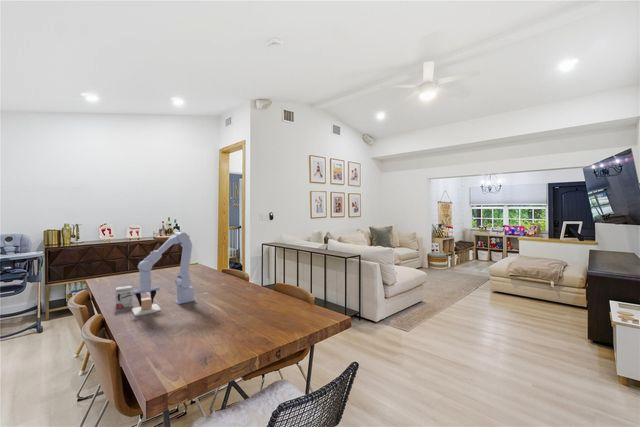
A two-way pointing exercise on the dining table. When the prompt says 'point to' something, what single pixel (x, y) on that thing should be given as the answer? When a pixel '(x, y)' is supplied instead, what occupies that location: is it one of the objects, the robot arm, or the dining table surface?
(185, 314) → the dining table surface
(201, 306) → the dining table surface
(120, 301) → the ink box
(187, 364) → the dining table surface
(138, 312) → the mat
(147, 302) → the cube
